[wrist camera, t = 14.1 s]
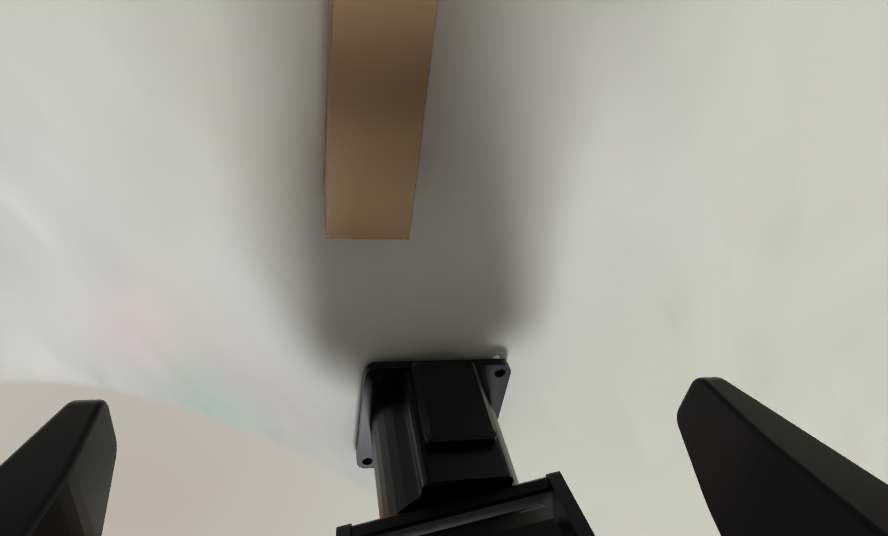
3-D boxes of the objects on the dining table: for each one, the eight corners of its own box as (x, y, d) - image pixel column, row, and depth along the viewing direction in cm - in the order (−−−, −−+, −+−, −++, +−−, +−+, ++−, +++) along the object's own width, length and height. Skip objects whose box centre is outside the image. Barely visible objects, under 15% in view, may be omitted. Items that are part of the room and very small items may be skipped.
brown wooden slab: (430, 196, 22) (445, 240, 19) (288, 191, 21) (286, 237, 18) (494, -274, 15) (531, -298, 12) (284, -322, 14) (280, -358, 11)
